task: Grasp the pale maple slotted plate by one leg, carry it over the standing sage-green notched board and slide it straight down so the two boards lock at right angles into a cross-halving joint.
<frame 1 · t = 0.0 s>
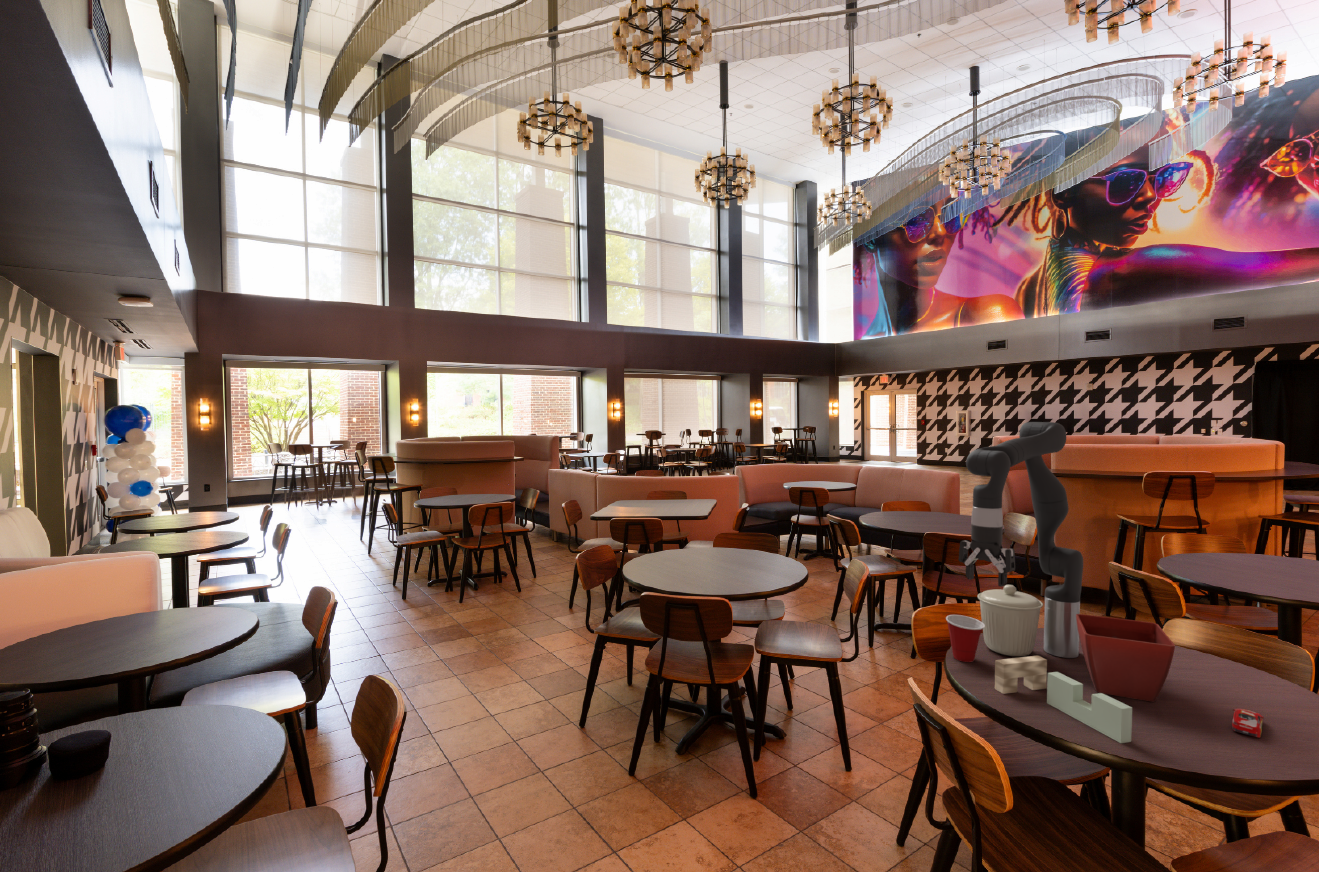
hand: (985, 582, 168), 29 cm above the table, fingers open, 8 cm apart
plant pot: (1120, 689, 168), on the table
plastic cup: (964, 659, 189), on the table
canister: (1008, 651, 195), on the table
slotted plate: (1020, 688, 168), on the table
race car: (1247, 728, 148), on the table
notched board: (1086, 721, 150), on the table
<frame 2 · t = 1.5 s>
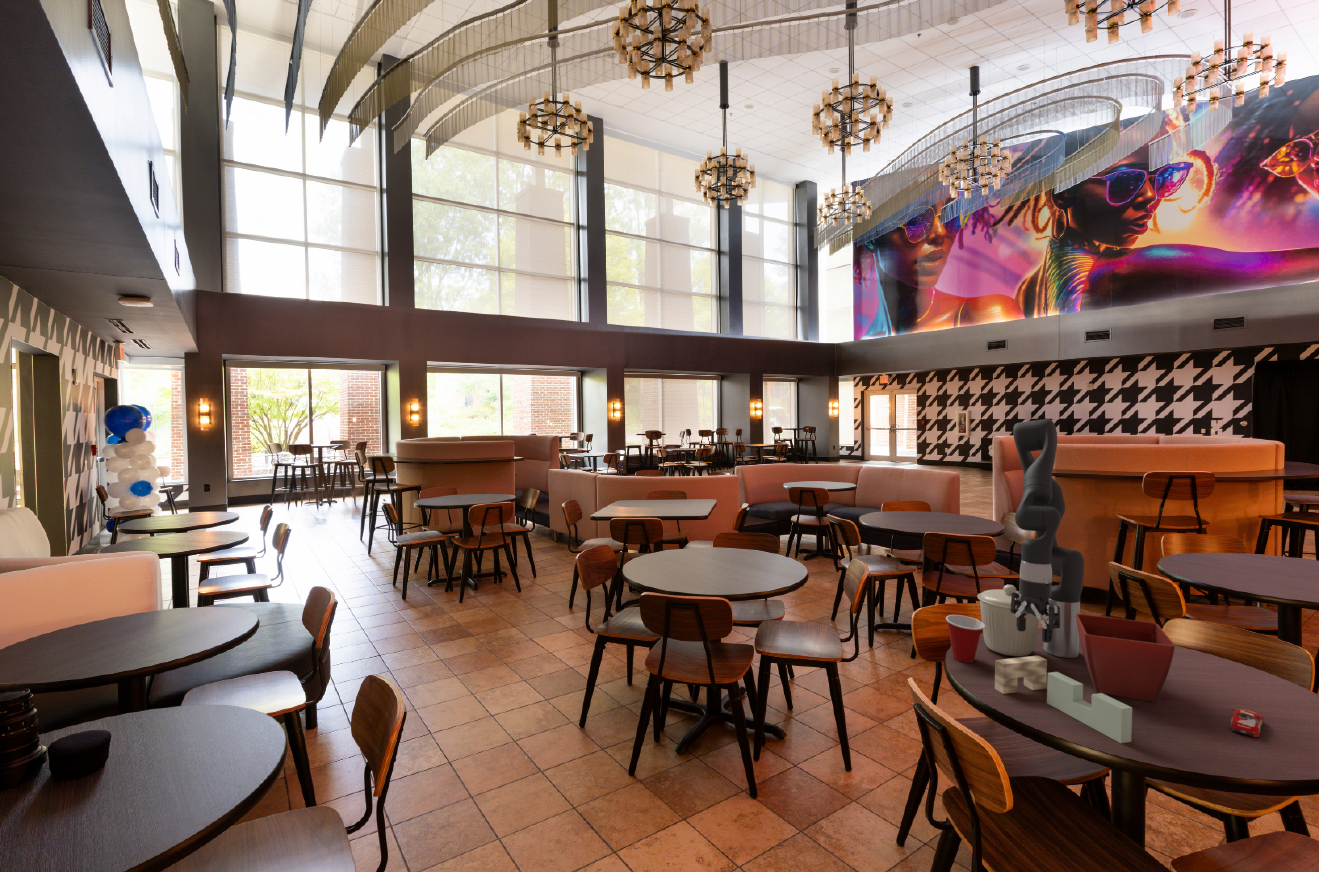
hand: (1033, 636, 169), 14 cm above the table, fingers open, 8 cm apart
nothing on the table moved.
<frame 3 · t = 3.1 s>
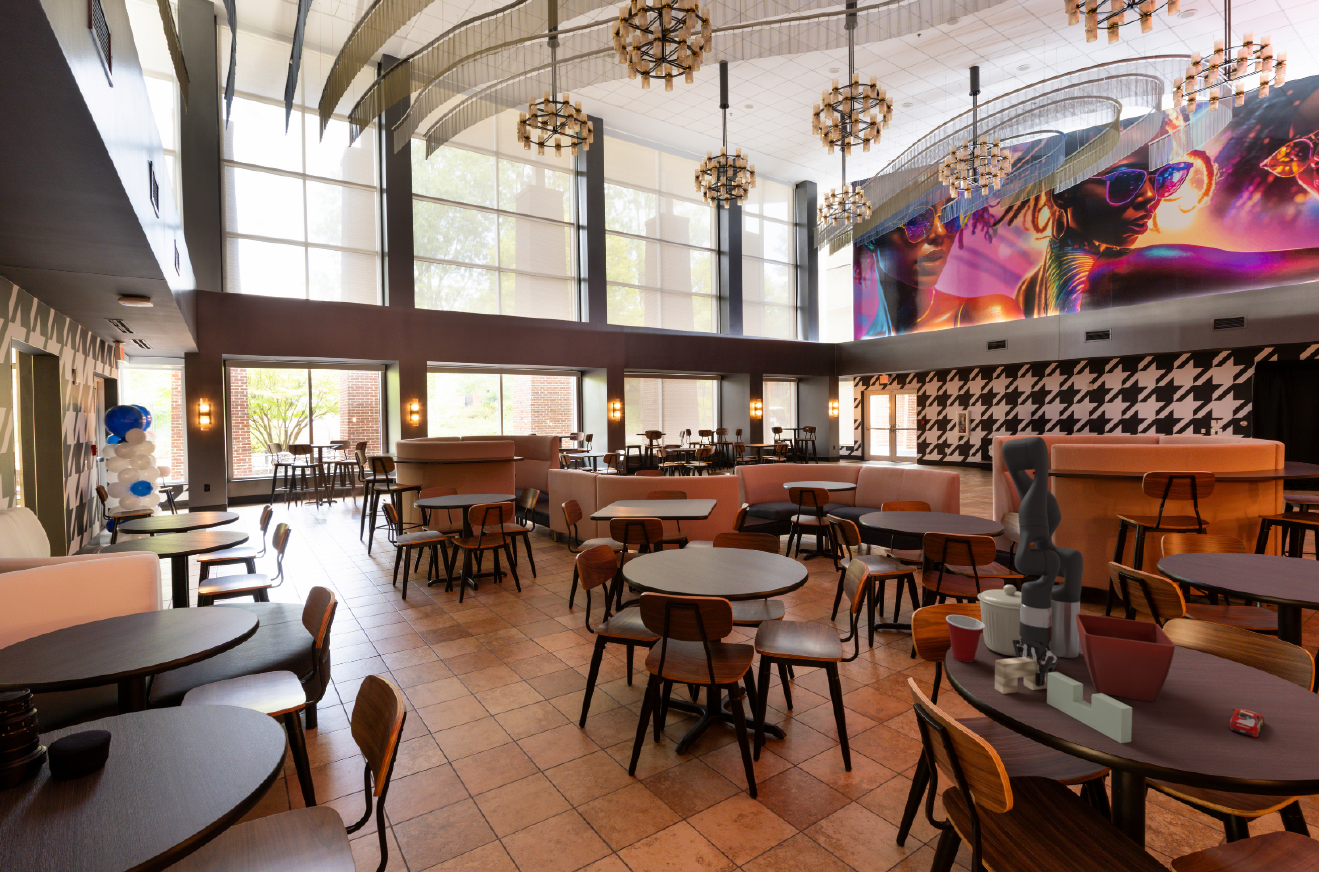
hand: (1034, 682, 169), 1 cm above the table, fingers closed on slotted plate, 3 cm apart
slotted plate: (1020, 688, 168), on the table, touching gripper
everything else where it was.
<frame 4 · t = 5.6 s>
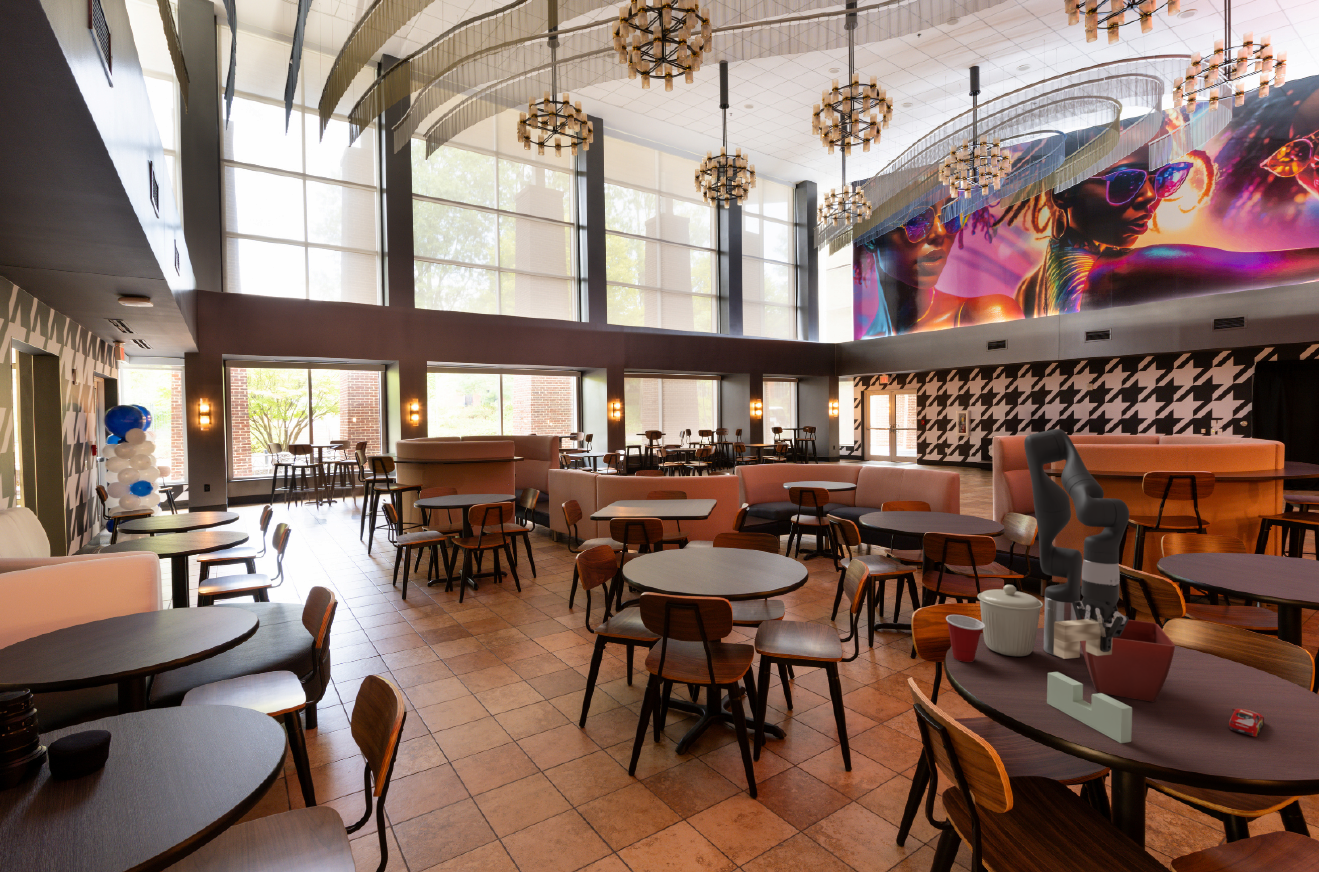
hand: (1098, 648, 151), 18 cm above the table, fingers closed on slotted plate, 3 cm apart
slotted plate: (1082, 654, 150), point 16 cm above the table, touching gripper
everything else where it was.
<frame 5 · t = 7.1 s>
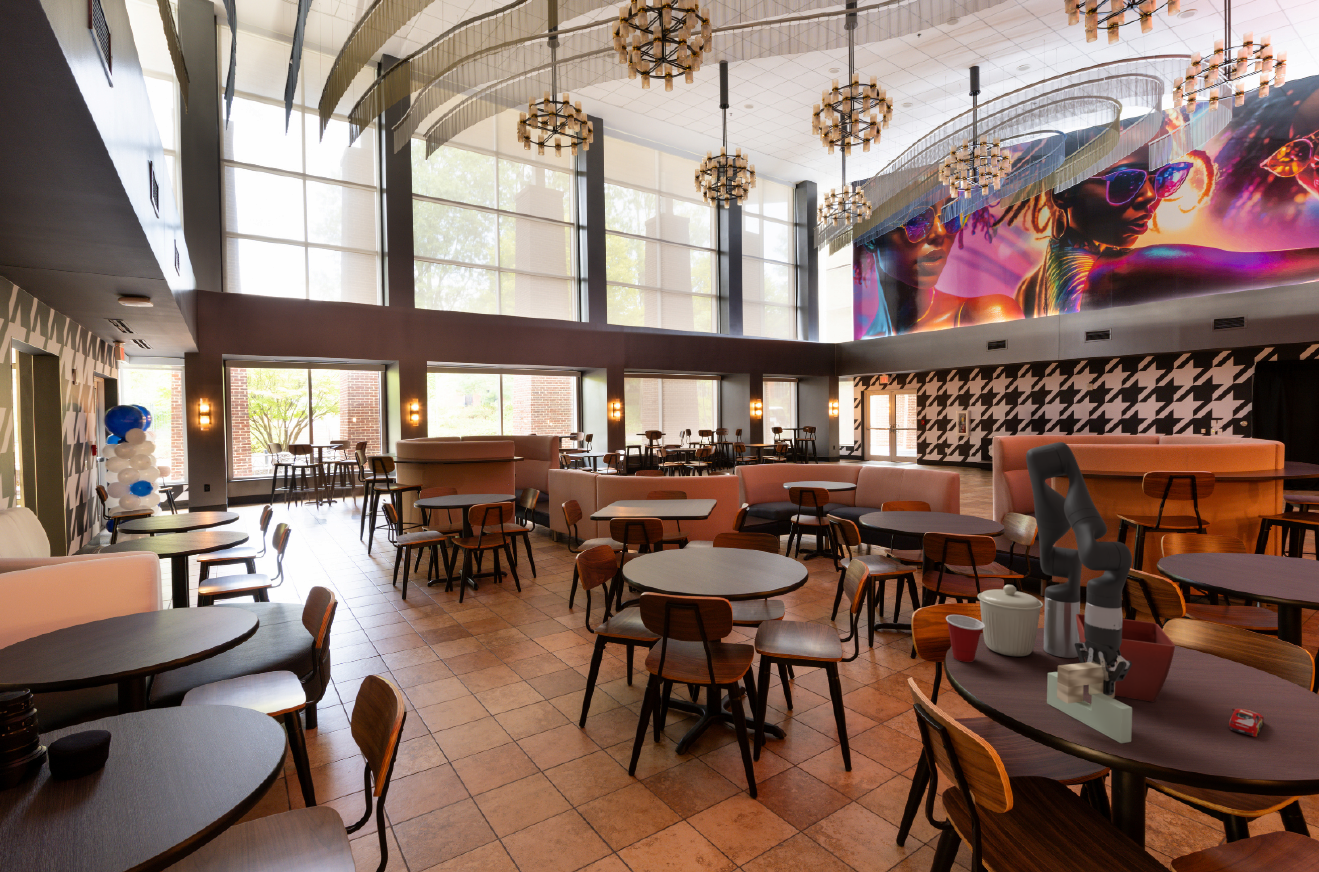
hand: (1101, 691, 151), 7 cm above the table, fingers closed on slotted plate, 3 cm apart
slotted plate: (1085, 697, 150), point 6 cm above the table, touching gripper
everything else where it was.
when the fingers open (3 cm above the table, at t = 8.2 s): slotted plate drops 1 cm, resting on notched board.
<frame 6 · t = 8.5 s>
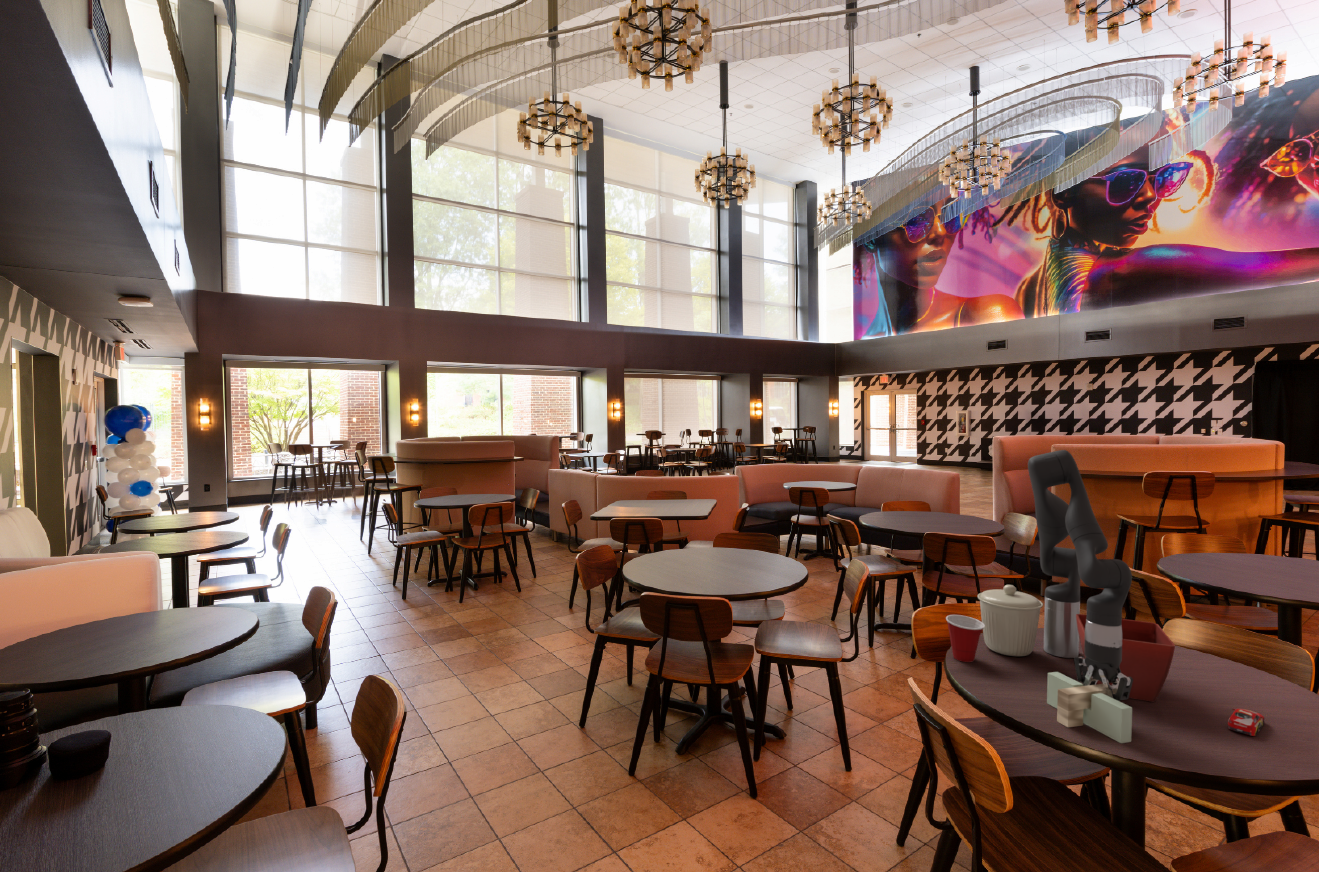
hand: (1101, 707, 151), 3 cm above the table, fingers open, 5 cm apart
slotted plate: (1085, 721, 151), resting on notched board
everything else where it was.
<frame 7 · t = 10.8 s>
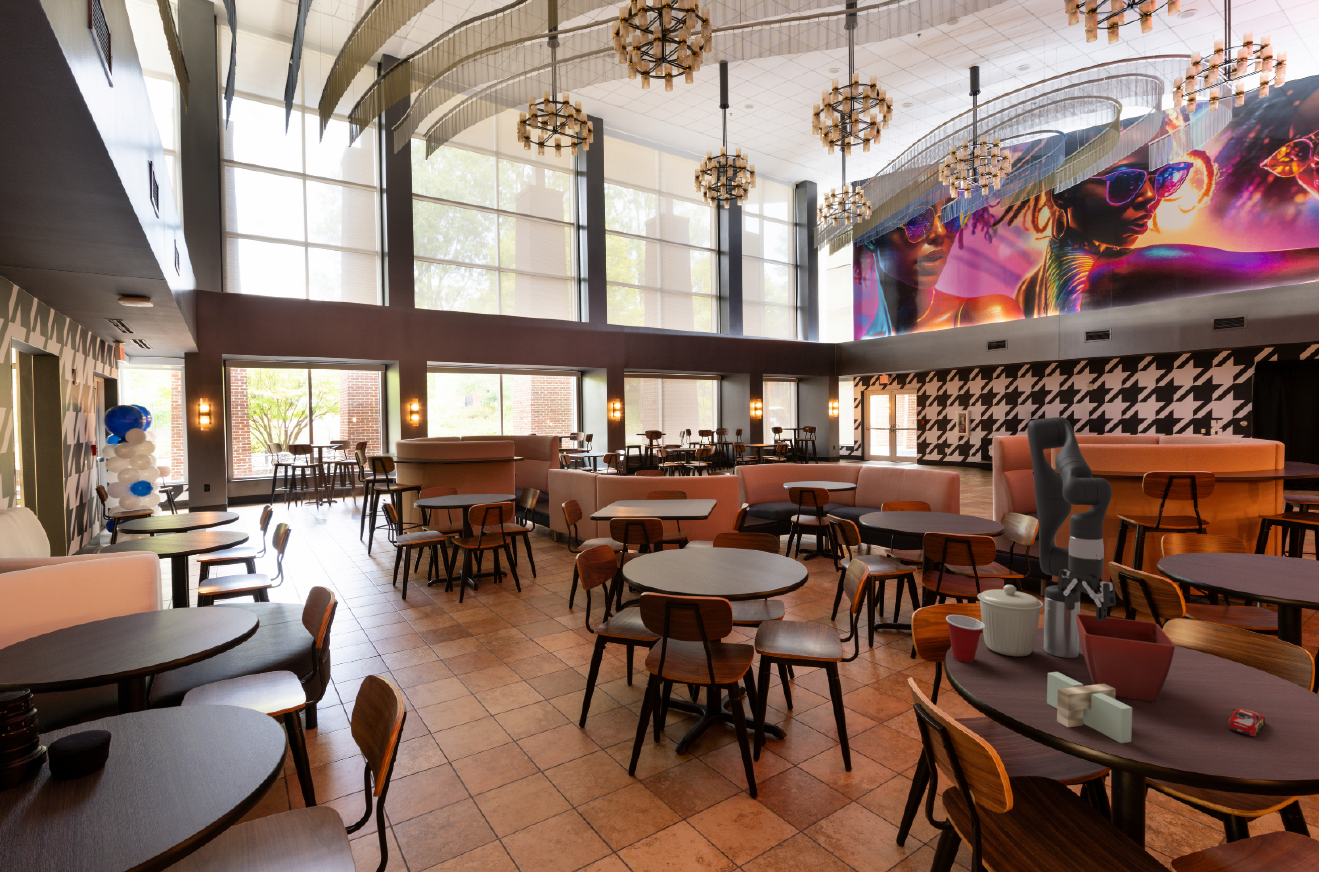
hand: (1085, 614, 161), 23 cm above the table, fingers open, 8 cm apart
nothing on the table moved.
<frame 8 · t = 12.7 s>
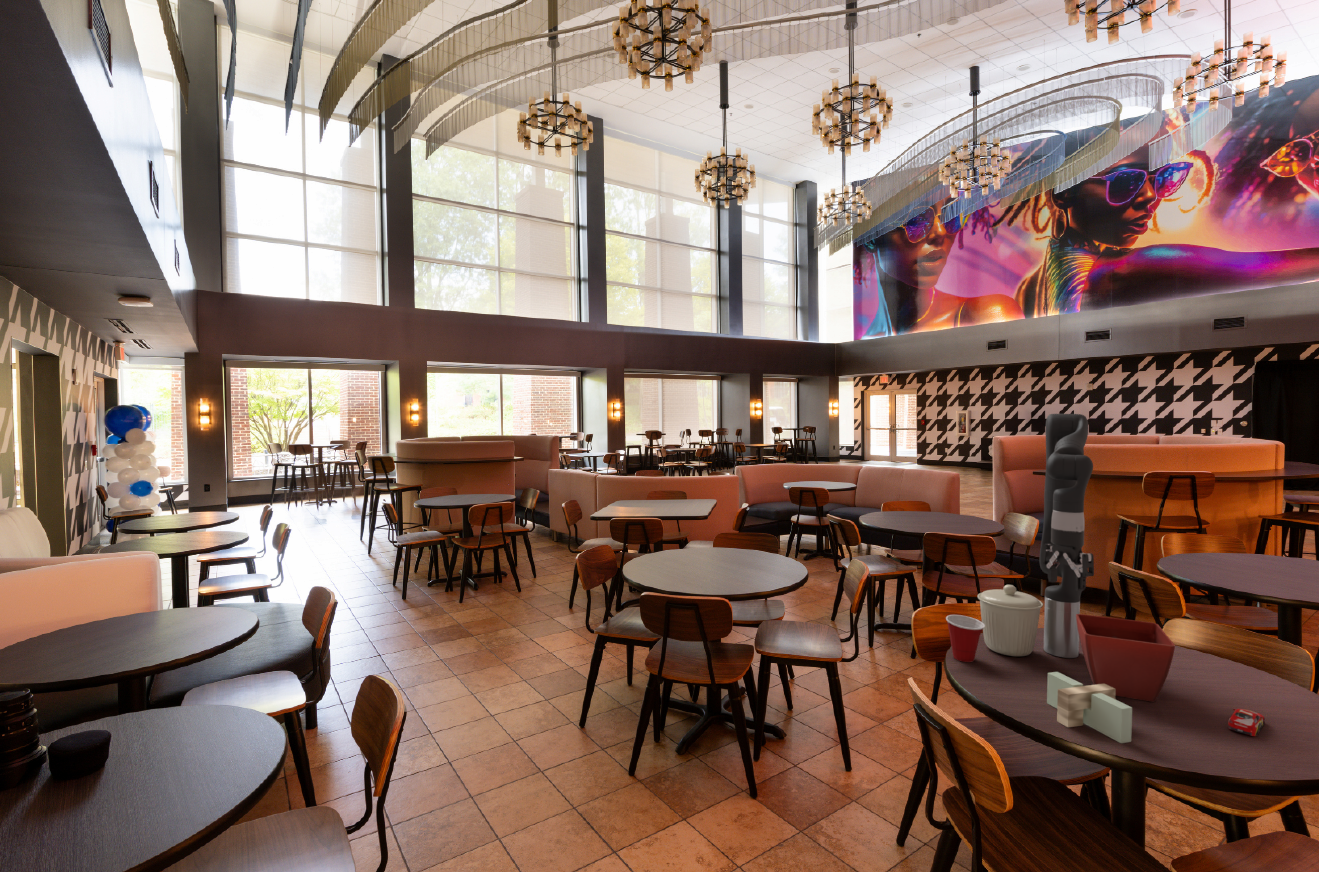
hand: (1066, 586, 168), 28 cm above the table, fingers open, 8 cm apart
nothing on the table moved.
at the end: slotted plate 0.1 cm off-centre on the notched board, point 0.0 cm above the notched board's base; slotted plate tilted 0°; the gripper is holding nothing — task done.
